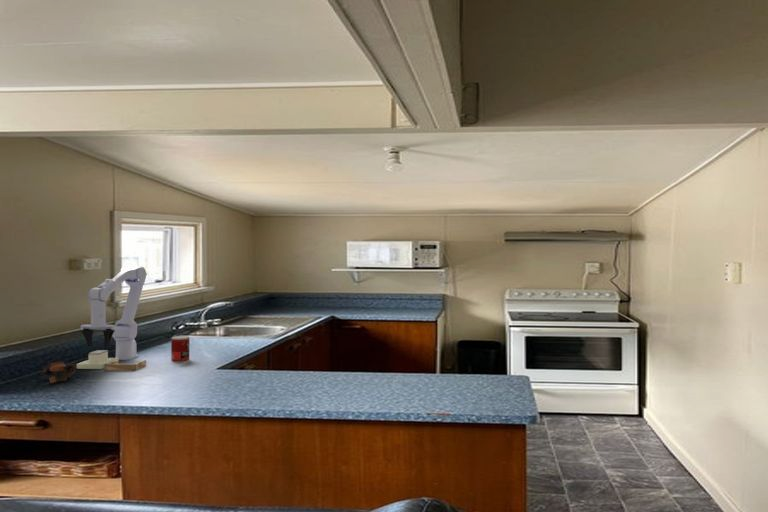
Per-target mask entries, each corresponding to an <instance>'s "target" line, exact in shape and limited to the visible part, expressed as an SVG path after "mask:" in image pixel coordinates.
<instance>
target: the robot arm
mask: <svg viewBox="0 0 768 512" xmlns="http://www.w3.org/2000/svg"><path fill="white" fill-rule="evenodd" d="M147 275H148V274H147V270H146V268H145V267H144V266H128V265H127V266H125V265H124V266H123V267H122V268H120V271H119V272H118V273H117V274H116V275H115V276H114V277H113V278H106V279H105V280H104V281H103V282H102V283H101V284H98V286H96V287H92V288H91V289H89V291H88V293H87V295H86V296H87V299H88V302H89V305H90V324H81V325H80V330H81V334H82V335H83V337H84V339H85V341H86V345H87V347H91V346H93V334H94V331H95V330H99V331H101V330H102V333H103V337H104V347H109V346H110V342H111V339H112V338H113V339H114V341H115V358H119V361H120V360H124V361H125V360H131V359H135V358H137V357H139V355H138V354H137V341H136V340H135V338H136V337H137V335H138V327H139V326H138V324H137V322H136V321H135V317H136V314H137V309H138V306H139V303H140V298H141V296H142V292H143V287H144V286H145V281H146V279H147ZM124 282H125V283H126V285H127V286H129V290H128V291H129V292H128V294H127V297H126V301H125V305H124V308H123V311H122V315H121V318H120V319H118V320H117V321H116V322H115V323H114V324H109V323H108V324H106V323H107V320H106V319H107V317H106V316H107V315H106V314H107V311H106V310H107V305H106V304H107V303H106V302H107V301H108V300H109V297H110V296H111V294H112V293H113V292H115V291H116V290H117V289H118V286H119V285H120V284H121V283H124Z"/></svg>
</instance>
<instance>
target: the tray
mask: <svg viewBox="0 0 768 512" xmlns="http://www.w3.org/2000/svg"><path fill="white" fill-rule="evenodd" d="M115 360H119V358H116V357H108V362H106V363H103V364H89V359H87V360H84V361H81V362H79V363H76V368H77V369H76V370H79V369H80V370H103V369H105V364H107V363H110V362H112V361H115ZM119 361H120V360H119Z"/></svg>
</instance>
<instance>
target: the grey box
mask: <svg viewBox="0 0 768 512" xmlns="http://www.w3.org/2000/svg"><path fill="white" fill-rule="evenodd" d="M108 358H109V350H108V349H106V350H104V349H102V350H101V349H100V350H99V349H97V350H94V351H91V352H88V360H89V364H103V363H106V362H108Z"/></svg>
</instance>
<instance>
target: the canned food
mask: <svg viewBox="0 0 768 512" xmlns="http://www.w3.org/2000/svg"><path fill="white" fill-rule="evenodd" d="M170 339H171V343H170V344H171V345H170V346H171V348H170V349H171V350H170V351H171V352H170V354H171V355H170V356H171V357H170V359H171V361H172V362H187V360H188V361H189V360H190V336H189V335H175V336H172V337H171V338H170Z"/></svg>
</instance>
